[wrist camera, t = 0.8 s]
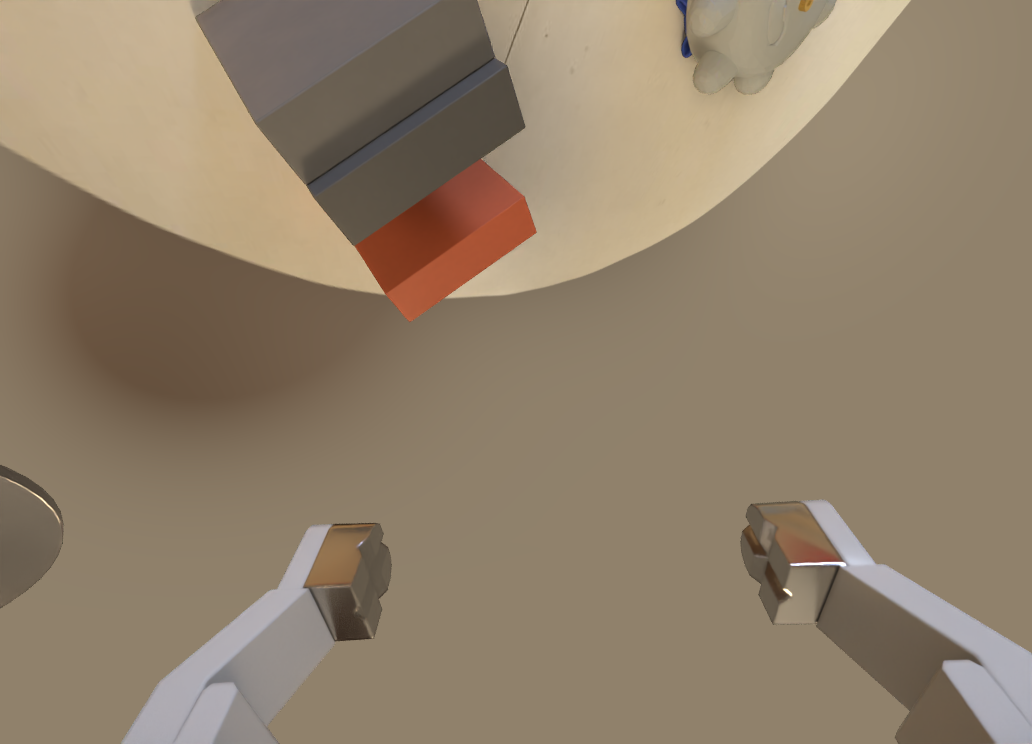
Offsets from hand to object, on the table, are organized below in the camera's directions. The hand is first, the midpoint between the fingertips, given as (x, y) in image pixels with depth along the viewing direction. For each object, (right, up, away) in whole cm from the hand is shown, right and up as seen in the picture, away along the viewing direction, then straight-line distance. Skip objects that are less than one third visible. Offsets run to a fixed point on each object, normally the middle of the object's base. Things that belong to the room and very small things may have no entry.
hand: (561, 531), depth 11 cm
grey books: (-14, +25, +19) cm, 34 cm away
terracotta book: (-12, +20, +27) cm, 35 cm away
